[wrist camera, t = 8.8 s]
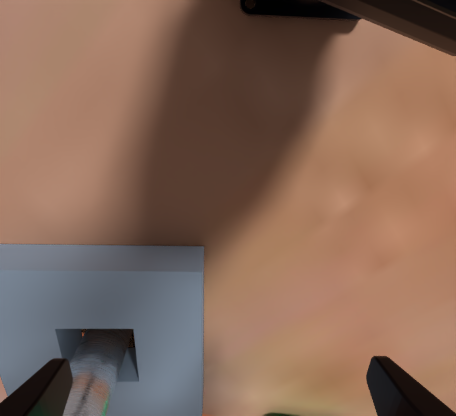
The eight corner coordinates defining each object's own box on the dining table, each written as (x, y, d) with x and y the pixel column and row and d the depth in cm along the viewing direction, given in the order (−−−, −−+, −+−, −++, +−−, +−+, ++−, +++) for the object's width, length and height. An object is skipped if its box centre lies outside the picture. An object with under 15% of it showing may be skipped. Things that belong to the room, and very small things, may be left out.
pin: (132, 307, 23) (78, 460, 14) (136, 339, 24) (87, 498, 15) (89, 307, 23) (5, 461, 14) (95, 339, 24) (21, 500, 15)
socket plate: (204, 246, 21) (202, 271, 18) (203, 385, 27) (202, 420, 24) (-6, 243, 21) (-40, 269, 18) (38, 386, 26) (17, 423, 23)
